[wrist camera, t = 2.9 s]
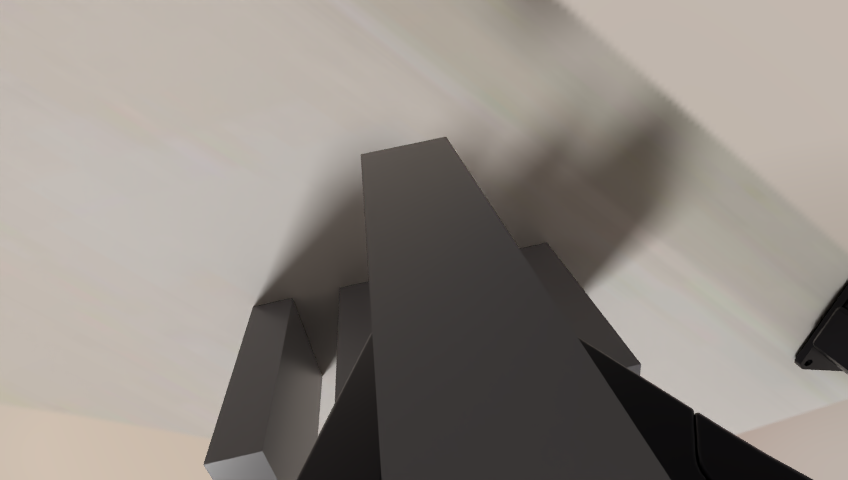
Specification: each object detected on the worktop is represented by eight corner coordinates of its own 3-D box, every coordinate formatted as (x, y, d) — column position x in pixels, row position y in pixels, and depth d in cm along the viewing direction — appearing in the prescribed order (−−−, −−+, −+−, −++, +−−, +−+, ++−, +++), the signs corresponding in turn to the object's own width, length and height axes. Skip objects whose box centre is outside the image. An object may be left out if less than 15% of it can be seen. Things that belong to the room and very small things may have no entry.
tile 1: (446, 136, 10) (702, 529, 3) (473, 322, 12) (643, 778, 5) (360, 154, 9) (391, 607, 3) (405, 337, 12) (483, 822, 5)
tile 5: (292, 298, 21) (262, 451, 14) (322, 376, 23) (309, 539, 16) (253, 306, 21) (203, 464, 14) (287, 384, 23) (259, 551, 16)
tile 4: (378, 279, 21) (391, 421, 14) (399, 359, 24) (419, 513, 17) (339, 287, 21) (333, 434, 14) (364, 366, 23) (369, 525, 17)
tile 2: (547, 242, 21) (640, 364, 14) (550, 325, 24) (632, 463, 17) (509, 250, 21) (585, 376, 14) (516, 332, 24) (584, 474, 17)
